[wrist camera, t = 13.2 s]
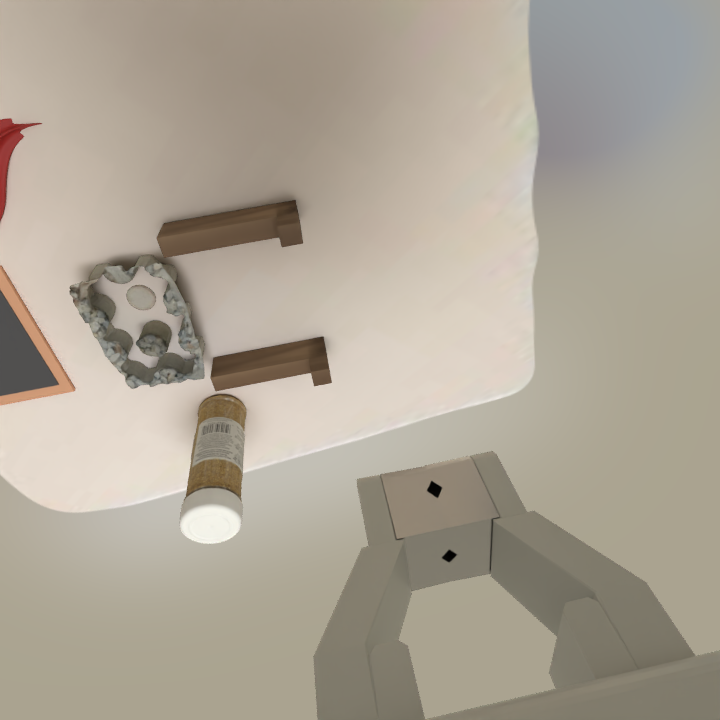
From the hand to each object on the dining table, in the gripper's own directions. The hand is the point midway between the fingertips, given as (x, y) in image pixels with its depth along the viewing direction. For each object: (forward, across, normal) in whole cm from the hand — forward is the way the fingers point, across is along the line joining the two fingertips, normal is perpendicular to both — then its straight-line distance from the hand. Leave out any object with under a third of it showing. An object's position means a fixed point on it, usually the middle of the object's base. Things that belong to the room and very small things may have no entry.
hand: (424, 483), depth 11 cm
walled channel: (+31, +7, +10) cm, 33 cm away
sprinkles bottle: (+31, +13, +22) cm, 40 cm away
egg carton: (+32, +16, +10) cm, 37 cm away
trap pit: (+31, +28, +10) cm, 43 cm away
